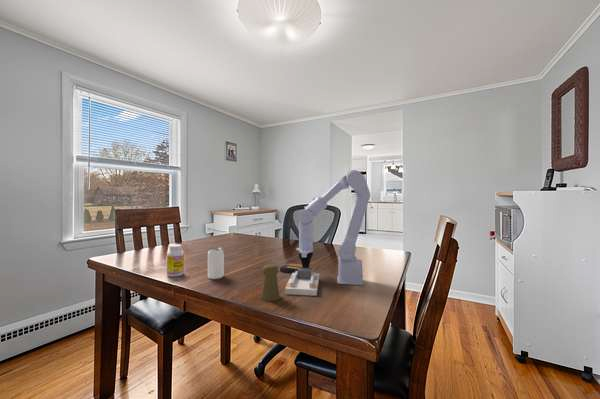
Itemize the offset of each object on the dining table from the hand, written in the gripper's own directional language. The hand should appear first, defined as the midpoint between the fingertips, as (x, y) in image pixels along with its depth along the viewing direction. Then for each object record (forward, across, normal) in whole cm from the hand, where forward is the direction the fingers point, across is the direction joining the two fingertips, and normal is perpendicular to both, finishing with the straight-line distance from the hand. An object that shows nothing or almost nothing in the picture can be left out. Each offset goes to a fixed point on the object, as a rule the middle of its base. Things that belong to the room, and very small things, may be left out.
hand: (305, 270), depth 105 cm
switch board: (+3, +10, 0) cm, 10 cm away
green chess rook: (+3, +22, -10) cm, 24 cm away
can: (+3, +4, -38) cm, 38 cm away
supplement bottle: (+3, +3, -57) cm, 57 cm away
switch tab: (+1, +6, 0) cm, 6 cm away
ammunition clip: (+2, -5, -8) cm, 10 cm away
